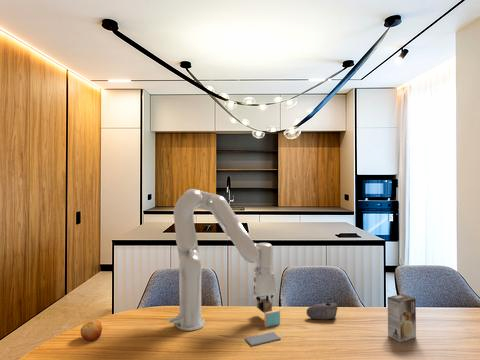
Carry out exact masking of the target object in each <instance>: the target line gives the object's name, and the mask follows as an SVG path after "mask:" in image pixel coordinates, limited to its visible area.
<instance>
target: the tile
mask: <svg viewBox="0 0 480 360" xmlns="http://www.w3.org/2000/svg"><path fill="white" fill-rule="evenodd" d="M263 315H264V318H263V319H264V324H263V325H264V327H265V328H269V327H273V326H279V325H281V310H279V309H275V310H274V309H273V310H272V311H269V312H264V313H263Z"/></svg>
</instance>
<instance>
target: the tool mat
mask: <svg viewBox="0 0 480 360" xmlns="http://www.w3.org/2000/svg"><path fill="white" fill-rule="evenodd" d="M244 340H245V341H246V343H248V344H249V346H251V347H256V346H260V345H264V344H267V343H271V342H272V343H273V342H277V341H281V337H280V336H279V335H278V334H276V333H275V331H271V332H266V333H261V334H257V335H253V336H248V337H245V338H244Z"/></svg>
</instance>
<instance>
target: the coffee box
mask: <svg viewBox="0 0 480 360" xmlns="http://www.w3.org/2000/svg"><path fill="white" fill-rule="evenodd" d="M416 300H417V299H416V298H415V297H412V296H410V295H407V294H403V293H402V294H401V293H400V294H397V295H396V294H395V295H392V296H388V297H387V336H388V337H390V338H391V339H393V340H396V341H397V342H400V343H402V342H406V341H409V340H412V339H415V338H417V321H416V320H417V316H416V314H417V313H416V311H417V310H416V309H417V306H416V304H417V302H416Z"/></svg>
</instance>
